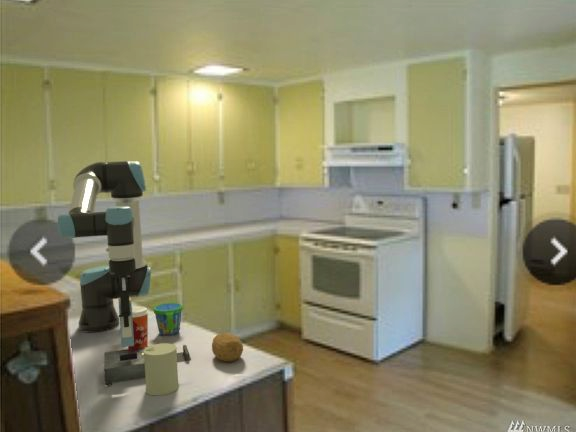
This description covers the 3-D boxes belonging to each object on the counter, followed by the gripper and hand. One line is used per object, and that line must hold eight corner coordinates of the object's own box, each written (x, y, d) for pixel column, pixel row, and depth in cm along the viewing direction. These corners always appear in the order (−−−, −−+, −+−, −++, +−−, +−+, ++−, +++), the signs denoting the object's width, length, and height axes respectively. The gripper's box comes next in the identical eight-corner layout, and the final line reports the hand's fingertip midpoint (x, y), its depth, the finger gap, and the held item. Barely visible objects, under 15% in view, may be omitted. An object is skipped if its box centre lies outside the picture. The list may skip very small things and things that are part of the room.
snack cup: (183, 338, 185) (182, 311, 183) (153, 341, 183) (152, 313, 181) (183, 325, 200) (182, 299, 199) (156, 327, 198) (154, 302, 197)
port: (105, 367, 160) (104, 351, 160) (151, 360, 165) (150, 345, 164) (105, 385, 147) (103, 368, 146) (154, 377, 151) (153, 360, 151)
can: (148, 382, 149) (146, 342, 147) (180, 380, 150) (178, 340, 148) (142, 396, 140) (140, 354, 138) (176, 394, 140) (174, 352, 139)
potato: (233, 349, 172) (232, 326, 171) (250, 363, 160) (249, 339, 159) (205, 355, 168) (204, 332, 167) (221, 370, 155) (220, 345, 155)
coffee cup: (143, 357, 167) (141, 313, 166) (120, 356, 169) (117, 312, 167) (155, 348, 175) (152, 306, 174) (133, 347, 177) (130, 305, 175)
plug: (121, 343, 156) (118, 298, 154) (133, 341, 157) (130, 297, 155) (121, 347, 152) (118, 301, 151) (134, 345, 153) (131, 300, 152)
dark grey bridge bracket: (163, 356, 168) (163, 348, 167) (188, 353, 170) (187, 344, 170) (166, 365, 160) (165, 356, 160) (191, 361, 163) (191, 352, 162)
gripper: (108, 254, 158) (114, 328, 161) (108, 264, 143) (113, 345, 145) (134, 252, 161) (138, 324, 163) (136, 262, 145) (141, 341, 148)
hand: (127, 334), depth 154 cm, fingers closed on plug, 4 cm apart
